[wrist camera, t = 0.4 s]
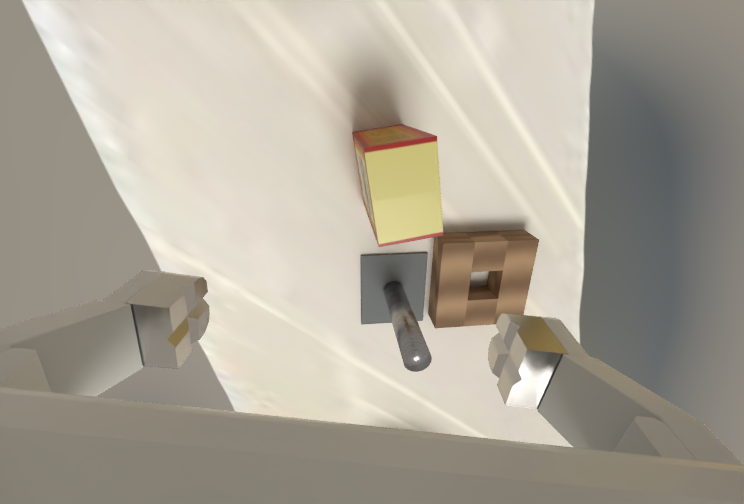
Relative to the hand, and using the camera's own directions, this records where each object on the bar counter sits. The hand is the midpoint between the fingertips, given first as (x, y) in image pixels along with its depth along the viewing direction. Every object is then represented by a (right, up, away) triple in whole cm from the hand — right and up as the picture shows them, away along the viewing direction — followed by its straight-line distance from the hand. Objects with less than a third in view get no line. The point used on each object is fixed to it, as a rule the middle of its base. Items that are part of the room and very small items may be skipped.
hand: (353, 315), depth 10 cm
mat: (+4, -4, +45) cm, 45 cm away
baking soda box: (+2, +13, +37) cm, 39 cm away
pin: (+4, -4, +44) cm, 45 cm away
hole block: (+17, -2, +45) cm, 48 cm away
